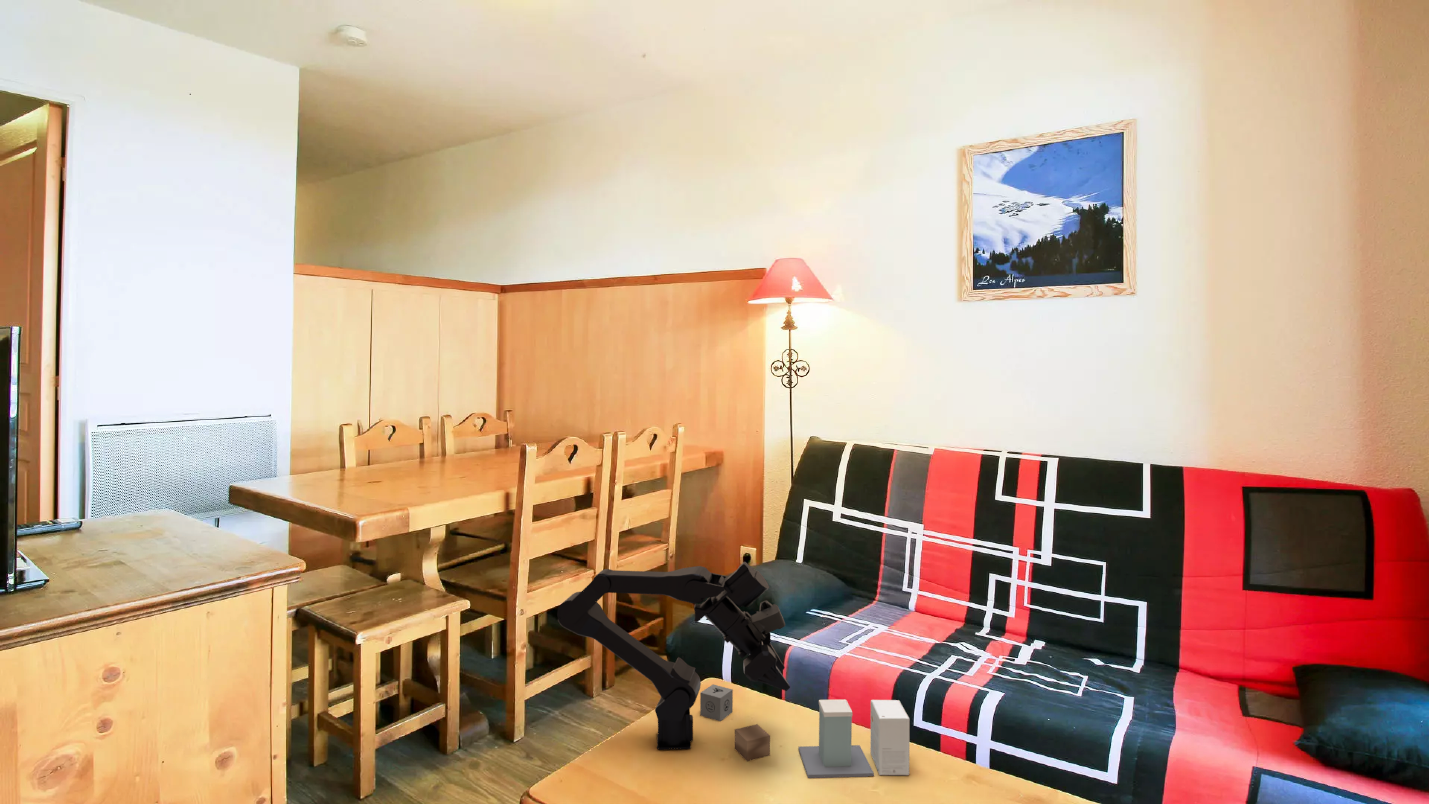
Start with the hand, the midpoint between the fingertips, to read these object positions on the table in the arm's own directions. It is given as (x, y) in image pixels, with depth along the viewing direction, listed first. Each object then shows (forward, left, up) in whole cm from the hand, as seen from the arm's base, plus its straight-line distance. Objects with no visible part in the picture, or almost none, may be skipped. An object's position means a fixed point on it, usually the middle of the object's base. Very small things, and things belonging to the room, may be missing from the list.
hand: (785, 678), depth 140 cm
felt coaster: (+8, -7, -13) cm, 17 cm away
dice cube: (-13, +14, -13) cm, 23 cm away
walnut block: (-7, -2, -13) cm, 15 cm away
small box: (+18, -8, -13) cm, 24 cm away
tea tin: (+8, -7, -13) cm, 16 cm away
